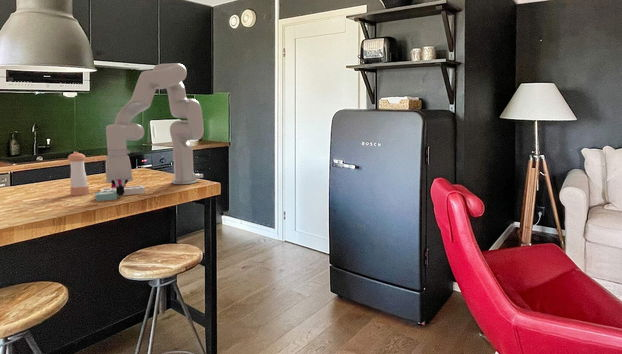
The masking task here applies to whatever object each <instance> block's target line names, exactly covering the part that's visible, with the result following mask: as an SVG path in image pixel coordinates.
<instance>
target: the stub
mask: <svg viewBox="0 0 622 354" xmlns="http://www.w3.org/2000/svg"><path fill="white" fill-rule="evenodd" d="M94 194H95V200H96V202H102V201H112V200H118V196H117V193H116V191H109V192H100V191H97V192H94Z"/></svg>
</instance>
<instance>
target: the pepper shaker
mask: <svg viewBox="0 0 622 354" xmlns="http://www.w3.org/2000/svg"><path fill="white" fill-rule="evenodd" d="M67 159H68V161H69V162H70V163H69V164H70V178H69V179H70V189H69V190H70V195H71V196H84V195H88V194H90V190H89V189H90V188H89V185H88V177H87V174H86V169H85V161H86V155H85V154H83V153H80V152H78V151H74V152H73V153H71V154H69V155H68V156H67Z"/></svg>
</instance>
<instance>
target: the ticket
mask: <svg viewBox="0 0 622 354" xmlns="http://www.w3.org/2000/svg"><path fill="white" fill-rule="evenodd" d="M109 191H116V188H112V187H107V188H100V191H99V192H109ZM116 193H117V192H116ZM140 194H141V195H142V194H146V187H145V186H144V185H132V186H131V185H130V186H126V187H124V193H123V196H129V195H130V196H131V195H140ZM117 197H122V195H121V196H119V195H118V194H117Z"/></svg>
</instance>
